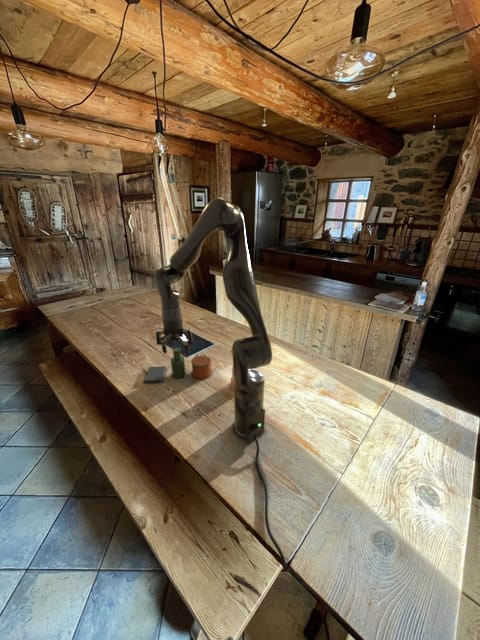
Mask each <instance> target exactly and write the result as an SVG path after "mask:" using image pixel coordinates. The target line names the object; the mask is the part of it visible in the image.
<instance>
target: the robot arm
mask: <svg viewBox="0 0 480 640" xmlns="http://www.w3.org/2000/svg"><path fill="white" fill-rule="evenodd" d="M213 232H219V233H222V234H223V236H224V240H225V244H226V251H227V253H226V257H225V261H224V265H223V268H222V281H223V286H224V291H225V295H226V298H227V300H228V301H229V303H231V305H232V306H233V307H234V308H235V310H237V312H239V313H240V315H241V316H242V317H243V319H245V322H247V325H248V326H249V329H250V332H251V335H252V336H248V337H242V338H238V339H235V340H234V341H233V343H232V347H231V349H232V352H231V356H232V367H233V372H234V382H235V390H234V426H233V427H234V430H235V432H236V434H237V435H238V436H240V437H242V438H244V439H246V440H247V442H248V443H252V442H255V446H256V453H255V464H256V468H257V471H258V474H259V476H260V479H261V482H262V485H263V490H264V521H265V527H266V531H267V534H268V536H269V539H270V540H271V542H272V544H273V545H274V547H275V549H276V550H277V552H278V555H279V557H280V560H281V563H282V568H283V569H284V570H286V569H288V568H287V566H288V565H287V561H286V558H285V555H284V552H283V551H282V549H281V546H280V545H279V543H278V542H277V539H276V538H275V537H274V535H273V533H272V531H271V527H270V526H271V525H270V522H269V492H268V486H267V485H268V484H267V483H266V480H265V477H264V474H263V472H262V469H261V466H260V461H259V454H260V443H259V441H258V438H260V437H262V434H263V433H265V424H266V423H265V420H266V409H265V408H264V400H265V399H264V398H265V385H266V384H265V383H266V380H265V377H264V375H263V374H262V373H261V372H260V371H258V370H255V369H258V368H262V367H266V366H269V365H270V364H271V363H272V360H273V351H272V350H273V349H272V345H271V341H270V337H269V335H268V331H267V328H266V325H265V322H264V321H265V320H264V318H263V314H262V311H261V306H260V302H259V296H258V291H257V287H256V281H255V276H254V271H253V269H252V264H251V259H250V253H249V249H248V243H247V235H246V234H247V233H246V225H245V218H244V214H243V211H242V209H241V208H240V207H239V206H238V205H237V204H235V203H233V202H232V201H229V200H227V199H225V198H222V197H215V198H212V199H211V200H210V201H209V202H208V203H207V205H206V206H205V207H204V209H203V210H202V212H201V214H200V215H199V217H198V219H197V221H196V223H195V224H194V226H193V227H192V229H191V231H190V232H189V234H188V236H187V237H186V239H185V240H184V241H183V242H182V244H181V245H180V246H179V247H178V248H177V249H176V251H174V253H173V254H172V255H171V257H170V260H169V264H168V265H165V266H161V267H158V268H156V270H155V271H154V273H153V282H154V284H155V287H156V290H157V292H158V294H159V297H160V304H161V317H162V325H163V330H162V329H160V328H158V329H157V330H156V332H155V339H156V345H157V346H161V348H162V353H164V355H165V354H167V352H168V347H167V343H168V342H169V341H171V342H172V341H180V342H181V343H182V344H183V345H184V353H185V354H188V352H189V350H190V346H189V345H191V344H193V341H194V338H193V332H192V328H190V327H189V328H188V329H185V328H184V322H183V310H182V307H181V297H180V293H179V292H178V291H177V290H176V289H173V288H172V285H174V284H176V283H179V282H180V281H181V280H182V279H183V278H184V276H185V275H186V273H187V270H189V269H190V268H191V267H192V266H193V265H194V264H195V263H196V262H197V261H198V259H199V257H200V256H201V253H202V249H203V244H204V242H205V240H206V239H207V237H209V235H212V233H213ZM162 335H163V336H165V338H164V339H162ZM185 335H187V338H186V336H185Z"/></svg>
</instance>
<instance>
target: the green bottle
mask: <svg viewBox="0 0 480 640" xmlns="http://www.w3.org/2000/svg"><path fill="white" fill-rule="evenodd" d="M181 353H182V352H181V348H179V347H174V348H173V349H172V355H173V356H172V357H171V358H170V366H171V373H172V374H171V375H172V377H173V378H174V379H182V378H183V377H185V376H186V375H187V373H186V361H185V356H183V355H182V354H181Z"/></svg>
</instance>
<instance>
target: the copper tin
mask: <svg viewBox="0 0 480 640" xmlns="http://www.w3.org/2000/svg"><path fill="white" fill-rule="evenodd" d="M190 363H191V369H192V376H193V377H194V378H195V379H198V380H203V379H207V378H209V377H210V376H211V375H212V359H211V357H210V356H208V355H197V356H194V357H193V358H192V359H191V362H190Z"/></svg>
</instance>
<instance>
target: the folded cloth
mask: <svg viewBox="0 0 480 640" xmlns="http://www.w3.org/2000/svg"><path fill="white" fill-rule="evenodd" d="M166 369H167V366H166V365H162V366H149V367H148V370H147V373H146V375H145V377H144V379H143V381H144V384H148V383H149V384H151V383H162V382H163V380H164V376H165V374H166V373H165V372H166Z"/></svg>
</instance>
